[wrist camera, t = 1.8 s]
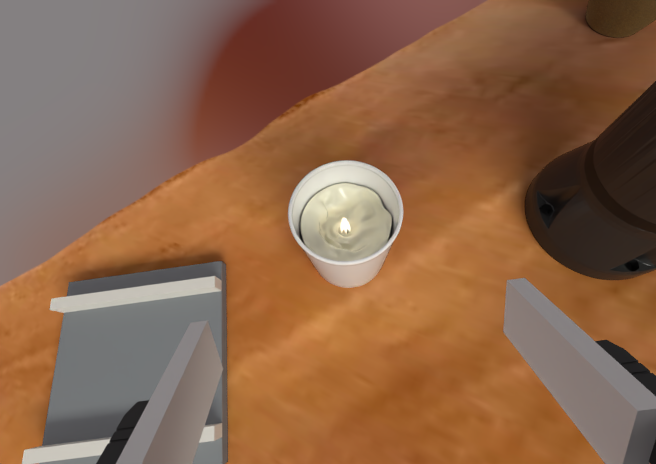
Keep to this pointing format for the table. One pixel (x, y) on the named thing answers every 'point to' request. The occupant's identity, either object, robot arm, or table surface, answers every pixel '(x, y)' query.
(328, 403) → the table surface
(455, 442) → the table surface
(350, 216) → the candle holder
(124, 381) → the grey tray with rails
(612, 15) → the plant pot
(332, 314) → the table surface
